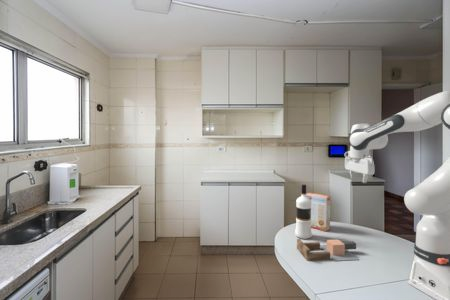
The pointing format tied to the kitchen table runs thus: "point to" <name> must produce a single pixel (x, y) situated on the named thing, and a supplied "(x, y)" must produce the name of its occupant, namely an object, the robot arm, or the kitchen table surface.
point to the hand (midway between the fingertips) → (358, 180)
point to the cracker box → (320, 211)
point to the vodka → (303, 216)
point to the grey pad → (345, 257)
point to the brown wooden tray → (305, 251)
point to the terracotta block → (339, 246)
